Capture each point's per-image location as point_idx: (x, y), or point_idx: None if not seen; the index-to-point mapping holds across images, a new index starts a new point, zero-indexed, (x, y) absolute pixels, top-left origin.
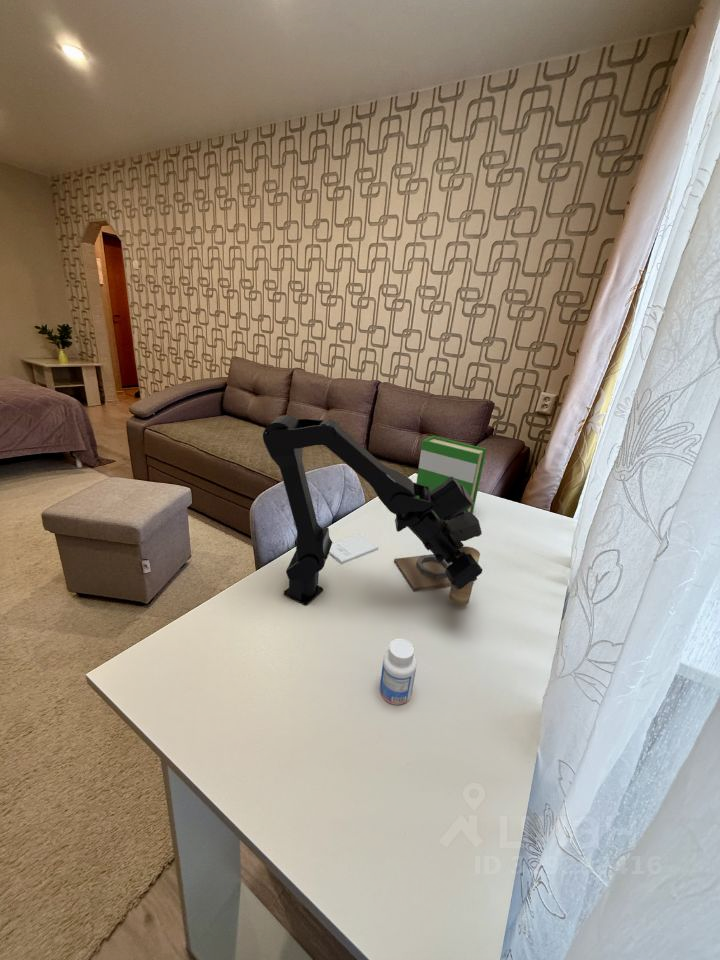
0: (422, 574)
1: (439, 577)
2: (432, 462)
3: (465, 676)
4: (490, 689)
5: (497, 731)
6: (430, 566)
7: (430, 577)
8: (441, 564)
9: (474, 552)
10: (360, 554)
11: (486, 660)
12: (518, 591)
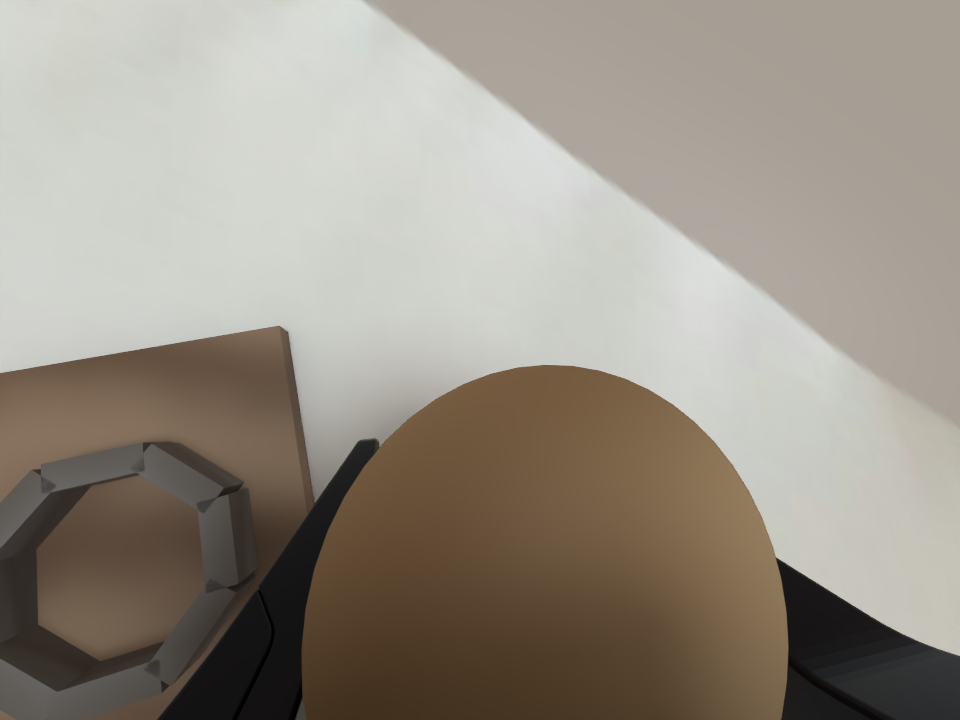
0: (197, 659)
1: (250, 542)
2: None
3: (813, 548)
4: (840, 475)
5: (953, 503)
6: (101, 574)
7: (237, 602)
8: (90, 486)
9: (572, 478)
10: None
11: (738, 446)
12: (363, 153)
